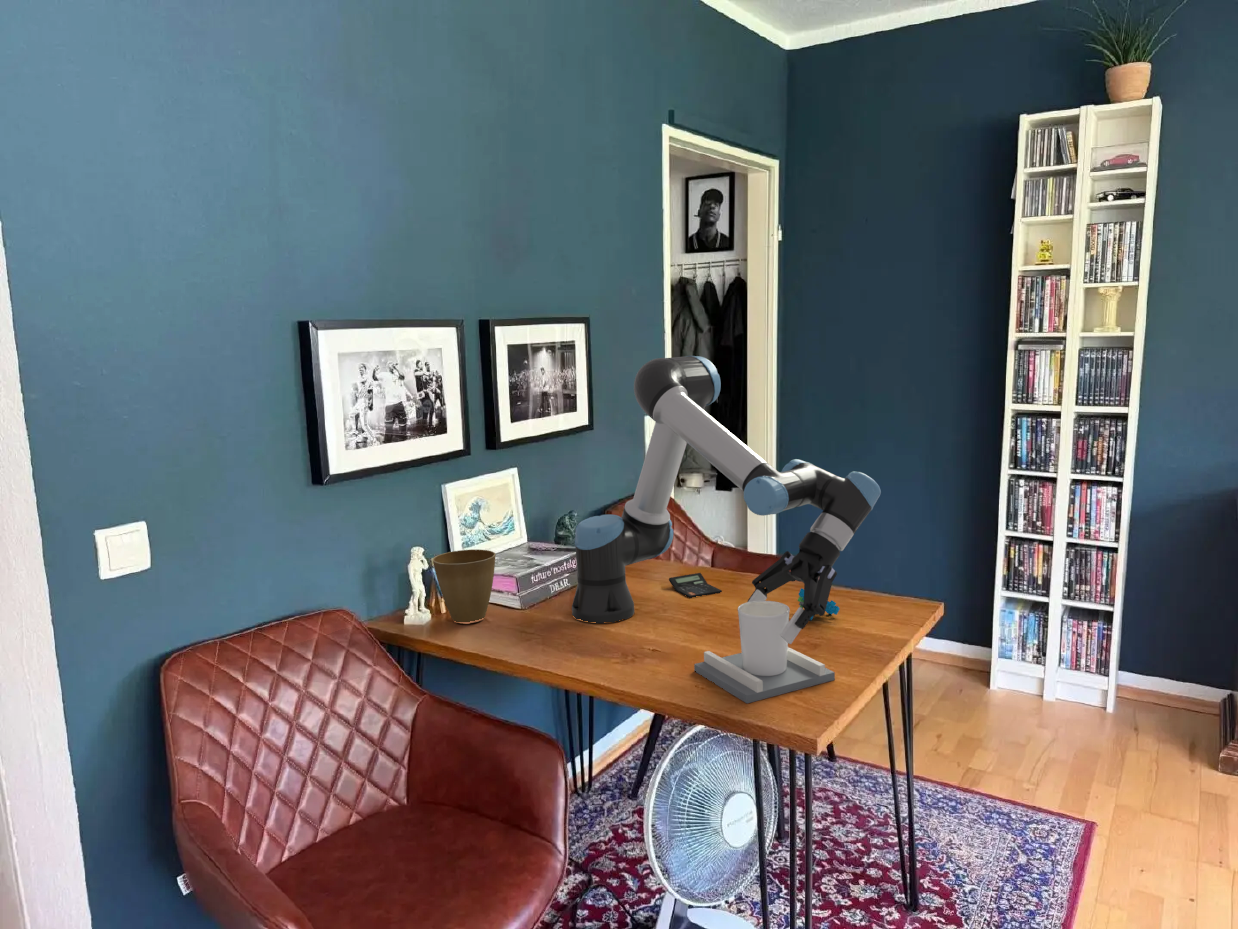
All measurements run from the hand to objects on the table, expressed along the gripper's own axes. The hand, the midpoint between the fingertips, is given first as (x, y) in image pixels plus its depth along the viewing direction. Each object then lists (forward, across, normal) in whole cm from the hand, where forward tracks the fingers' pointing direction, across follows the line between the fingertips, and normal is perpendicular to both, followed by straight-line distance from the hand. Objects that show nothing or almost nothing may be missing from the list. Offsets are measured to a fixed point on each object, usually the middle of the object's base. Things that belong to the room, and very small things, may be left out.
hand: (763, 629), depth 164 cm
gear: (-15, +23, -29) cm, 40 cm away
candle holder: (+6, 0, -6) cm, 8 cm away
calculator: (-6, +57, -20) cm, 61 cm away
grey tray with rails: (+7, 0, -7) cm, 9 cm away
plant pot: (+35, +67, +21) cm, 78 cm away
